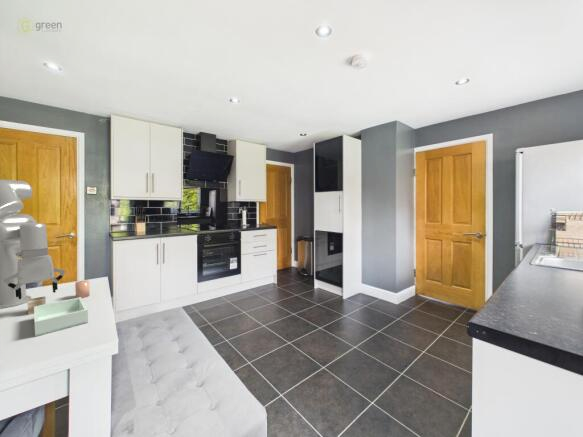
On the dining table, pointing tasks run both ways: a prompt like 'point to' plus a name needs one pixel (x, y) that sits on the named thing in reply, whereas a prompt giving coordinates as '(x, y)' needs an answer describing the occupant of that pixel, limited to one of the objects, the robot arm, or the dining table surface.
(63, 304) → the tote
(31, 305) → the wooden cube
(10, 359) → the dining table surface
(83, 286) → the terracotta cylinder
